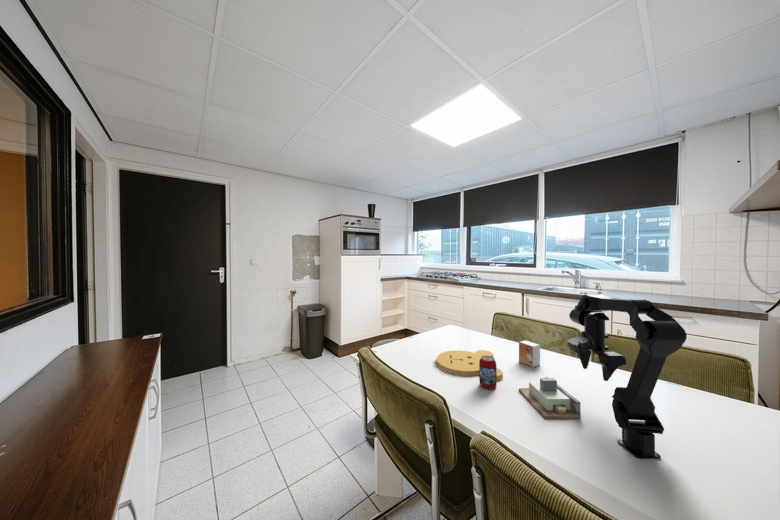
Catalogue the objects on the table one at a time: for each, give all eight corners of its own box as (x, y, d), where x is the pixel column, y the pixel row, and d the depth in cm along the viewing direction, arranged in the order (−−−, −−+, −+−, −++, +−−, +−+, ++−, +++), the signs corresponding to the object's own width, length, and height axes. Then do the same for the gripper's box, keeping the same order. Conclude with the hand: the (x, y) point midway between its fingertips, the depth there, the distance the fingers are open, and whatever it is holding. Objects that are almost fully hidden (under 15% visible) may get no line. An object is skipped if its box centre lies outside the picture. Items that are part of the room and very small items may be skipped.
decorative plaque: (435, 377, 118) (504, 382, 112) (435, 371, 118) (504, 376, 112) (437, 352, 149) (491, 355, 143) (437, 347, 149) (491, 350, 143)
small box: (518, 361, 133) (518, 341, 133) (526, 359, 135) (525, 339, 135) (532, 367, 125) (532, 346, 125) (540, 365, 128) (540, 344, 128)
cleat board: (580, 418, 86) (580, 402, 86) (544, 418, 87) (544, 402, 86) (548, 390, 104) (548, 377, 104) (518, 390, 105) (518, 377, 104)
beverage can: (478, 388, 107) (478, 359, 107) (480, 380, 113) (480, 354, 113) (495, 391, 104) (495, 362, 104) (497, 384, 110) (497, 356, 110)
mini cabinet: (570, 410, 89) (570, 387, 89) (547, 410, 89) (547, 387, 89) (549, 392, 101) (549, 371, 101) (529, 392, 101) (529, 372, 101)
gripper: (554, 323, 99) (555, 363, 100) (591, 339, 81) (592, 388, 81) (583, 323, 99) (584, 363, 99) (627, 338, 80) (627, 388, 81)
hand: (594, 374), depth 90 cm, fingers open, 9 cm apart
